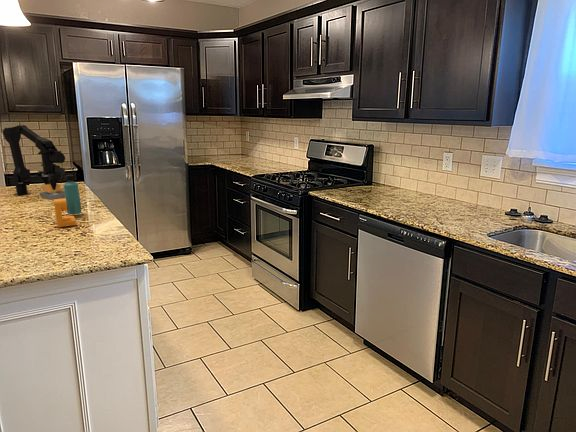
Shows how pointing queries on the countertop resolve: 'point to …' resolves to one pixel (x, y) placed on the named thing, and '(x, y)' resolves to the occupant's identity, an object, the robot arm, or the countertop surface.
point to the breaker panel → (53, 195)
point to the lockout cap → (50, 188)
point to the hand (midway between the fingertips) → (51, 189)
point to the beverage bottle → (72, 196)
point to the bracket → (61, 221)
